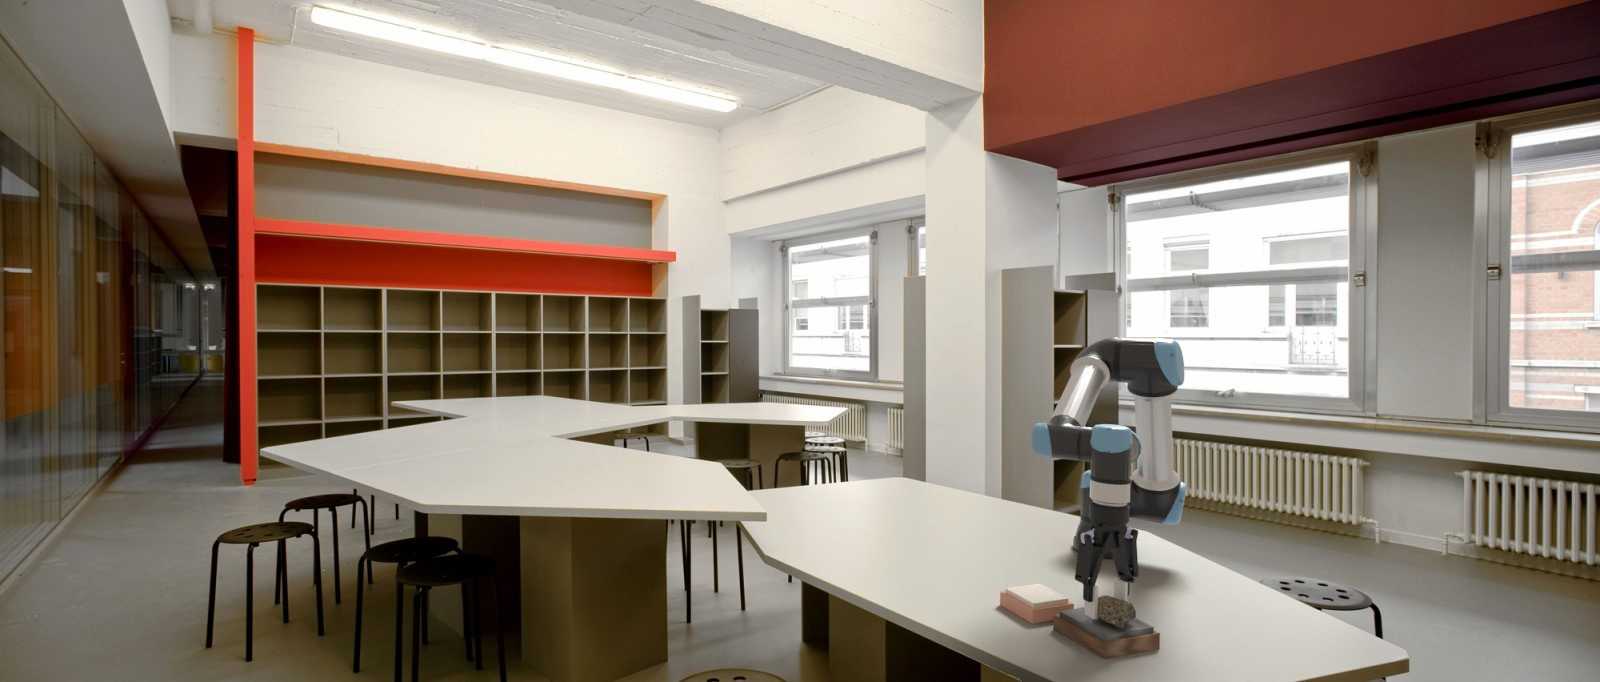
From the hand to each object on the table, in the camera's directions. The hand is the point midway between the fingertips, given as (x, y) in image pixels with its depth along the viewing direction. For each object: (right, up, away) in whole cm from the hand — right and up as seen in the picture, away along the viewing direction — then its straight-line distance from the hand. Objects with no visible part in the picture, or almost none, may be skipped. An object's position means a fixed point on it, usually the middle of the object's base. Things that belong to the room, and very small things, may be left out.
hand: (1105, 614), depth 144 cm
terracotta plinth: (-10, -4, +14) cm, 17 cm away
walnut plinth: (0, -5, 0) cm, 5 cm away
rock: (+1, 0, -2) cm, 2 cm away
